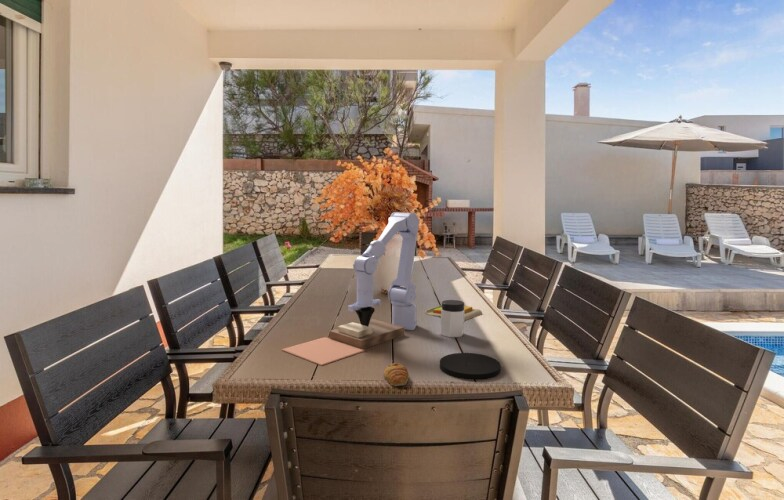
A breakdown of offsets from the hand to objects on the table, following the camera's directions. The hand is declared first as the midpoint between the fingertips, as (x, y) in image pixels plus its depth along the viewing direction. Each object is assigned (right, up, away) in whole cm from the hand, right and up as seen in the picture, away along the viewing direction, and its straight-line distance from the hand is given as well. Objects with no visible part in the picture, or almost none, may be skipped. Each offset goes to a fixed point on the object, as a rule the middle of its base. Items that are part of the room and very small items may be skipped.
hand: (364, 328), depth 168 cm
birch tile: (-3, -1, -3) cm, 5 cm away
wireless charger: (+33, -8, -27) cm, 43 cm away
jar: (+32, -4, +6) cm, 33 cm away
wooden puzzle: (+36, -1, +36) cm, 51 cm away
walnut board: (+1, -4, +2) cm, 4 cm away
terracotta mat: (-13, -5, -14) cm, 19 cm away
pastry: (+11, -9, -36) cm, 39 cm away
